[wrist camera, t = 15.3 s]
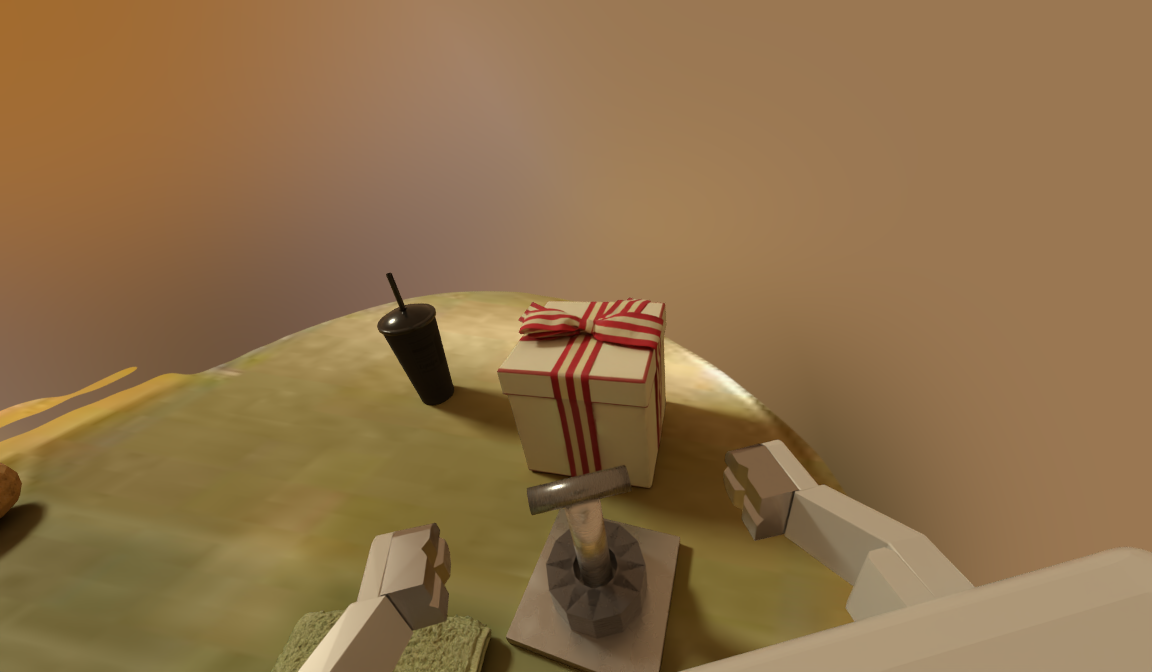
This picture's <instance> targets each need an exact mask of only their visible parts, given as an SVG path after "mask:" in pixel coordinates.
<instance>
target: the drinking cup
mask: <svg viewBox="0 0 1152 672" xmlns="http://www.w3.org/2000/svg"><path fill="white" fill-rule="evenodd" d="M386 276H387V278H388V281H389V283H390V285H391V288H392V290H393V293H394V295H395V297H396V300H397V302H398V305H399V307H398V308H396V309H394V310H392V311H391V312H389V313H388V314H386V315H385V316H384V317H382V318H381V319H380V321H379V322H378V325H377V328H378V330H379V332H380V333H382V334H383V335H384V336H385V338H386V340H387V342H388V343H389V345H390V347H391V348H392V350H393V352H394V353H395V355H396V357H397V359H398V360H399V362H400V364H401V365H402V367H403V369H404V371H405V372H406V374H407V376H408V377H409V379H410V381H411V382H412V384H413V386H414V388H415V389H416V391H417V393H418V394H419V396H420V398H421V400H422V401H423V402H424V403H425V404H427V405H436V404H440V403H442V402H444V401H446V400H447V399H449V398H450V397H451V396H452V394H453V392H454V388H453V384H452V380H451V376H450V372H449V368H448V364H447V361H446V357H445V353H444V349H443V345H442V341H441V337H440V333H439V329H438V325H437V322H436V318H435V316H436V310H435V308H434V307H433V306H432V305H429V304H408V305H404V303H403V300H402V298H401V296H400V293H399V290H398V288H397V285H396V283H395V280H394V278H393V276H392V273H387V274H386Z"/></svg>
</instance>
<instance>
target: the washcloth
mask: <svg viewBox="0 0 1152 672" xmlns="http://www.w3.org/2000/svg"><path fill="white" fill-rule="evenodd" d="M345 610H346V609H345ZM345 610H344V611H340V610H337V611H331V612H324V611H320V612H311V613H308V614H305V615H304V616H303V617H302V618H301V619H300V620H299V621H298V623H297V624H296V626H295V628H294V630H293V631H292V633H291V635H290V637H289V640H288V642H287V644H286V645H285V646H284V650H283V653H282V654H280V656H279V657H278V659H277V662H276V665H275V666H274V668H273V669H272V671H270V672H298V671H299V669H300V668H301V667H302V666H303V664H304V663H305V662H306V660H307V659H308V658H309V657H310V655H311V654H312V653H313V651H314V650H315V649H316V648H317V646H318V645H319V644H320V643H321V641H322V640H323V639H324V637H325V636H326V635H327V634H328V632H329V631H330V630H331V628H332V627H333V626H334V625H335V623H336V622H337V621H338V619H339V618H340V617H341V616H342V614H343V613H344V612H345ZM490 638H491V629H489V628H487V627H486V624H482V623H481V622H479V621H478V620H477V621H476V620H474V619H473V618H472V617H470V616H466V617H462V616H458V615H456V616H455V617H448V615H447V621H445V622H442V623H438V624H435V625H431V626H428V627H424V628H421V629H418V630H414V631H413V635H412V637H411V639H410V640H409V642H408V644H407V646H406V648H405V650H404V651H403V653H402V655H401V657H400V659H399V661H398V663H397V664H396V666H395V668H394V670H393V672H481V669H482V664H483V661H484V656H485V653H486V649H487V647H488V643H489V641H490Z"/></svg>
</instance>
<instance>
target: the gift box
mask: <svg viewBox="0 0 1152 672" xmlns="http://www.w3.org/2000/svg"><path fill="white" fill-rule="evenodd" d="M519 321H521V322H523V324H522V326H521V328H520V331H519V333H520V334H524V335H523V336H522V338H521V339H520V340H519V342H518V344H517V345H516V346H515V348H514V349H513V350H512V352H511V353H510V354H509V356H508V357H507V359H506V360H505V361H504V362H503V364H502V365H501V366H500V368H499V369H498V371H497V373H498V377H499V381H500V384H501V388H502V391H503V394H506V395H508V397H509V401H510V405H511V408H512V412H513V415H514V419H515V422H516V426H517V429H518V433H519V436H520V440H521V443H522V447H523V450H524V454H525V457H526V461H527V465H528V468H529V470H533V471H540V472H546V473H554V474H560V475H566V476H571V477H575V476H579V475H584V474H588V473H592V472H596V471H600V470H604V469H608V468H613V467H617V466H621V465H625V466H626V468H627V471H628V475H629V479H630V483H631V486H638V487H645V488H650V487H651V485H652V481H653V476H654V470H655V464H656V458H657V453H658V449H659V444H660V439H661V432H662V424H663V418H664V412H665V405H666V396H665V365H664V333H665V328H666V311H665V304H664V303H650V301H648V300H641V299H632V298H628V300H618V301H617V302H547V304H546V305H545V306H544V307H542V306H540V305H538V304H536V303H534V302H532V303H531V305H530V306H529V308H528V309H527V310H526V311H525V313H524V314H523V315H522V316H521V317H520V318H519Z"/></svg>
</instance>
